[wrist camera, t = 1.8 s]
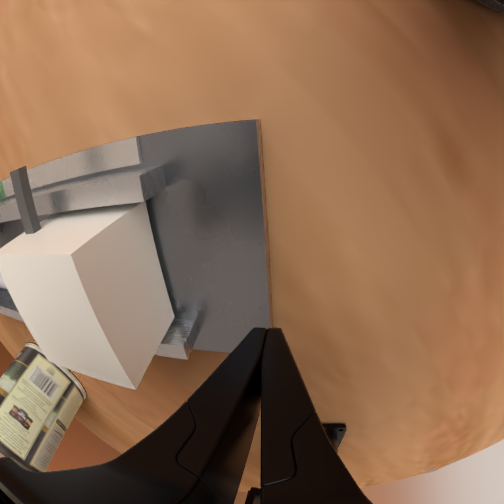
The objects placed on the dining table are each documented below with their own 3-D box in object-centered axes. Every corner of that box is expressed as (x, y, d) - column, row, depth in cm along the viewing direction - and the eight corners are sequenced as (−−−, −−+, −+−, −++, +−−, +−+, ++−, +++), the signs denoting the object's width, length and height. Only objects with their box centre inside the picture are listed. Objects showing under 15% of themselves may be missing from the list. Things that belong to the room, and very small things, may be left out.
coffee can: (38, 374, 28) (-6, 441, 16) (17, 328, 23) (-44, 405, 11) (93, 409, 28) (53, 487, 16) (78, 370, 23) (19, 469, 11)
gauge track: (273, 340, 16) (257, 451, 10) (7, 301, 21) (-31, 340, 14) (260, 119, 11) (208, 124, 4) (-31, 196, 15) (-81, 228, 9)
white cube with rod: (174, 316, 14) (135, 389, 10) (22, 294, 17) (-14, 330, 12) (134, 132, 10) (45, 155, 6) (-15, 185, 12) (-63, 212, 8)
